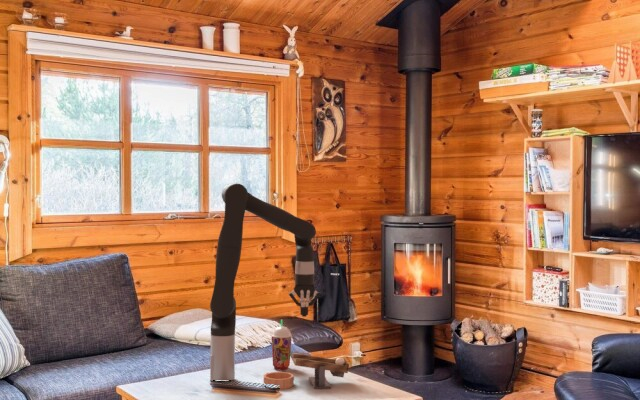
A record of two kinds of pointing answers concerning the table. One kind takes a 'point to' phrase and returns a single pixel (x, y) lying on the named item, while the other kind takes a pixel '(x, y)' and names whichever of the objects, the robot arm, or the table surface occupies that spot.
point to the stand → (320, 379)
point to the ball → (340, 361)
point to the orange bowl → (279, 379)
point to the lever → (320, 363)
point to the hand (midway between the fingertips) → (304, 316)
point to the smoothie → (281, 347)
